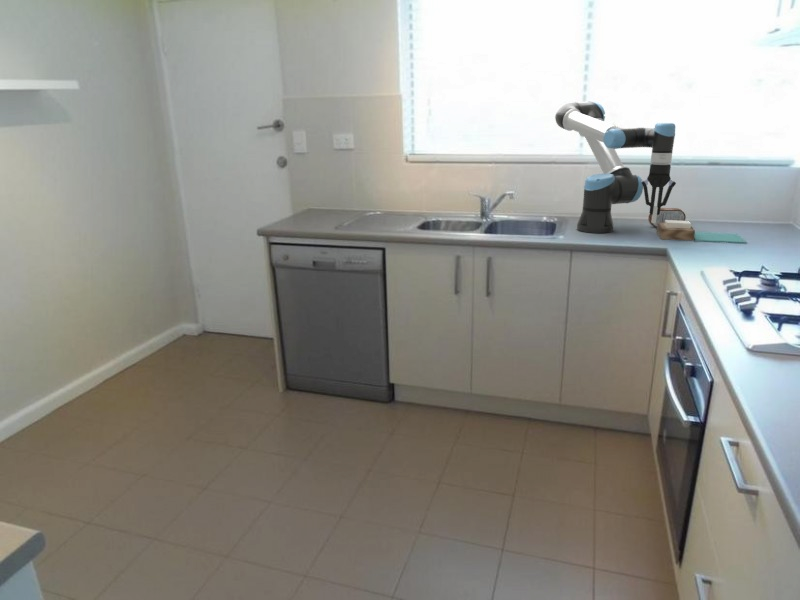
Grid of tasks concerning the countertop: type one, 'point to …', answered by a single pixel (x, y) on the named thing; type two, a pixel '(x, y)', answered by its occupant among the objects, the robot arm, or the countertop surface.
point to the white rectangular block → (677, 224)
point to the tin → (668, 215)
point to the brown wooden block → (675, 233)
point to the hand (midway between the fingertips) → (653, 222)
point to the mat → (718, 237)
